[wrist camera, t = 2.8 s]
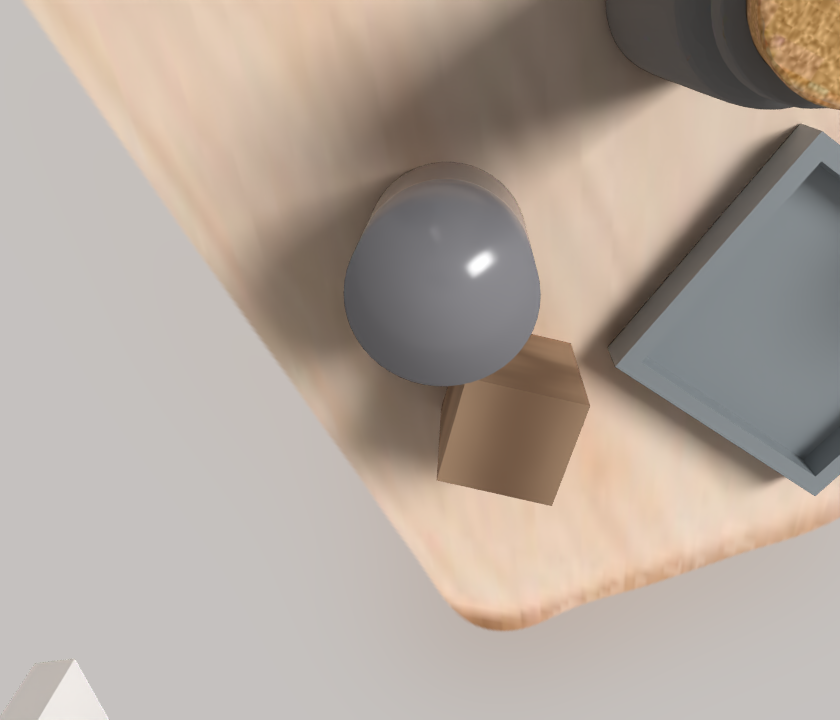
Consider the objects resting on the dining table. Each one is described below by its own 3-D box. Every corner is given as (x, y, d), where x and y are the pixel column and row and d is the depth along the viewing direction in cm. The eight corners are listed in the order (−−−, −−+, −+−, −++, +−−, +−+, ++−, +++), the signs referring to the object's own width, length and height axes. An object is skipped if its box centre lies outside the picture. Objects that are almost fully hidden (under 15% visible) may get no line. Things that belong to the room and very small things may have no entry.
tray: (607, 347, 34) (615, 366, 32) (800, 123, 29) (822, 131, 28) (797, 471, 36) (814, 496, 35) (1005, 282, 32) (1037, 299, 30)
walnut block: (441, 409, 36) (436, 480, 31) (466, 318, 34) (466, 377, 29) (539, 431, 36) (551, 505, 31) (570, 342, 34) (589, 406, 29)
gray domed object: (339, 262, 33) (308, 322, 27) (423, 128, 30) (411, 160, 24) (467, 342, 34) (466, 418, 28) (558, 221, 32) (581, 274, 25)
